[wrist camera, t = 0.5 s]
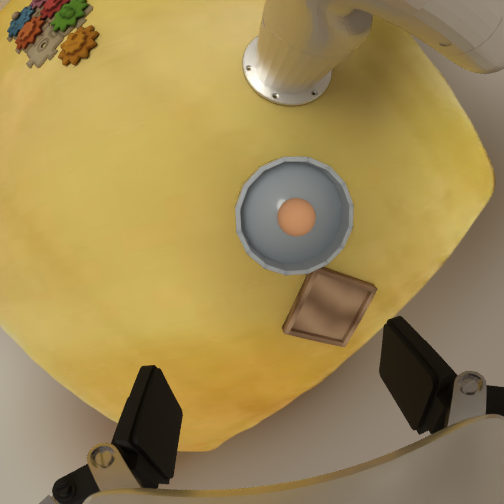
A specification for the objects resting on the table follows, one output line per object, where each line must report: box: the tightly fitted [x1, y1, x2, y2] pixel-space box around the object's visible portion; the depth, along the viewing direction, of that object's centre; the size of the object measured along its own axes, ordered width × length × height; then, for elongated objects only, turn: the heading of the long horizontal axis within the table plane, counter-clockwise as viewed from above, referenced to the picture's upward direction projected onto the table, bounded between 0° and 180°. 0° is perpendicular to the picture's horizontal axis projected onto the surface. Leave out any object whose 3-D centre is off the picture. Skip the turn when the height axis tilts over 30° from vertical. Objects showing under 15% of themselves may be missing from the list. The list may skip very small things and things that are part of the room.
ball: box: [277, 198, 316, 236], centre depth 35 cm, size 5×5×5 cm
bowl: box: [235, 157, 353, 275], centre depth 37 cm, size 16×16×4 cm
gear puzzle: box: [7, 0, 98, 68], centre depth 23 cm, size 31×16×4 cm, turn 42°
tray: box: [282, 267, 377, 347], centre depth 43 cm, size 12×12×2 cm
